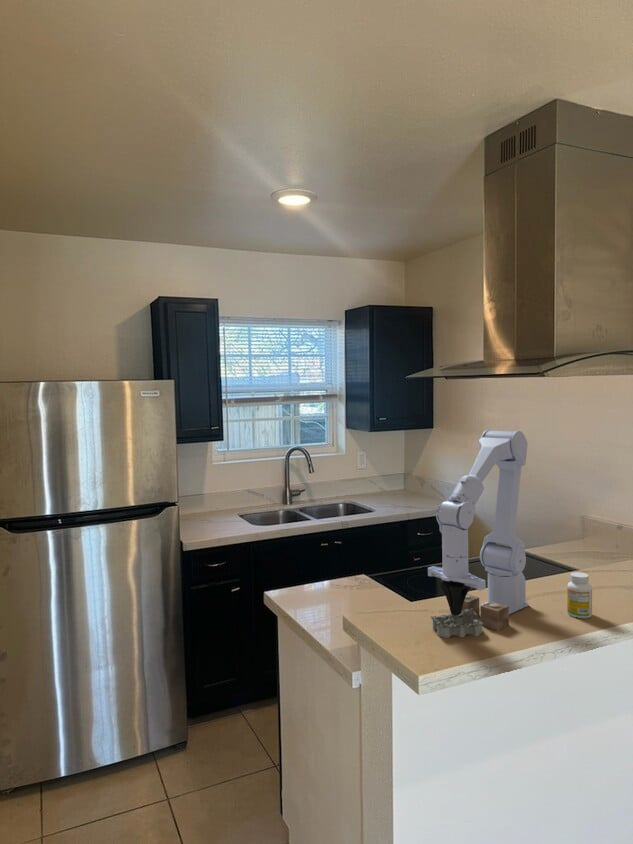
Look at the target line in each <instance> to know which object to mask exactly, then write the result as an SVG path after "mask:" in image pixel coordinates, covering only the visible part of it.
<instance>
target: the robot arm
mask: <svg viewBox="0 0 633 844" xmlns="http://www.w3.org/2000/svg"><path fill="white" fill-rule="evenodd" d="M479 438H480V439H479V441H478V449H479V452H478V454H477V455H476V457H475V460H474V463H473V465H472V467H471V469H470V471H469V473H468V475H463V476H461V477H460V479H459V481H458V482H457V484H456V486H455V488H454V489H453V491H452V493H451V495H449V497H448V500H444V501H443V502H441V503H440V504H439V506H438V508H437V510H436V511H437V512H436V514H435V518H436V522H437V523H438V526H439V532H440V534H441V542H442V543H441V549H442V551H441V552H442V555H441V556H442V557H441V558H442V560H441V561H442V567H440V566H434V565H431V566H429V567H427V576H428V577H435V578H438V579H441V581H442V582H440V585H439V587H440V589H441V590H442V591H443V594H444V596H445V598H446V601H447V604H448V607H449V611H450V614H452V615H455V616H456V615H459V614H461V611H462V607H463V603H464V600H465V597H466V595H467V594H469V591H470V589H471V588H472V589H473V588H474V589H476V591H484V590H486V579H483V578H480V577H479V576H476V575H474V574H471V572H469V569H470V568H469V528H470V527H471V525H472V524H473V522H474V516H475V511H476V505H477V503H478V501H479V499H480V498H481V496H482V494H483V492H484V489H485V486H484V484H483V482H484V480H485V479H486V478H487V477H488V474H490V472H491V471H492V470H493V468H494V466H495V465H497V467H498V469H499V472H498V474H499V475H498V481H497V482H498V483H497V494H496V501H495V502H496V503H495V504H496V505H495V512H494V513H495V514H494V523H493V531H491V532H490V533H489V534H487V535H486V536H484V538H483V542H482V547H481V549H480V550H479V560H480V563H481V565H482V566H483V567H484V570H485V571H486V572H487V601H486V602H483V603H481V604H480V606H482V605H484V604H487V603H489V602H491V601H492V602H496V603H499V604H503V605H506V606H509V615H510V614H511V615H512V614H513V613H515V612H517V611H520V610H521V609H524V608H526V607H529V606H530V603H528V602H526V601H527V600H526V599H527V597H526V596H527V595H526V593H527V588H526V587H527V586H526V585H527V584H526V577H525V576H524V573H523V571H524V570H525V567H526V564H527V557H526V548H525V547H526V544H525V542H524V541H522V539H521V538H520V537H519V536H517V534H516V526H517V517H518V508H519V507H518V506H519V495H520V486H521V477H522V476H521V475H522V467H523V466H525V465H526V463H527V462H526V461H527V454H528V440H527V438H526V435H525V434H524V433H523V431H520V430H516V431H515V430H514V431H512V430H510V431H509V430H490V429H486V430H484V431H483V432H482V434H481V436H480V437H479Z"/></svg>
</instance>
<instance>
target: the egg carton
mask: <svg viewBox="0 0 633 844" xmlns="http://www.w3.org/2000/svg"><path fill="white" fill-rule="evenodd" d="M430 619H431V620H432V630H433V631H436V635H437V636H438V637H443V638H444V639H449V638H451V636H458V637H460V638H465V636H466V635H472V636H474V637H478V636H480V634H482V633H483V625H484V624H483V622H481V618H479V616H477V614H476V613H475V612H474V610H473V608H472V609H469V608H468V609H463V610H462V611H461V614H459V615H456V616H455V615H452V614H451V613H450V614H442V615H439V616H436V615H435V616H434V615H433V616H432V615H431V616H430Z"/></svg>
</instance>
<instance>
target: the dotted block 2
mask: <svg viewBox="0 0 633 844" xmlns="http://www.w3.org/2000/svg"><path fill="white" fill-rule="evenodd" d="M479 610H480V620H481V622H483V624H484V625H482V627H486V628H489V629H492V630H495V631H500V630H502V629H504V628H506V627H508V626H510V619H509V617H510V614H509V606H506V605H503V604H499V603H496V602H492V601H491V602H489V603H487V604H484V605H482V606H481V605H479Z"/></svg>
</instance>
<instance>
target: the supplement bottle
mask: <svg viewBox="0 0 633 844" xmlns="http://www.w3.org/2000/svg"><path fill="white" fill-rule="evenodd" d="M589 577H590V576H589V574H587V573H585V572H579V571H578V572H577V571H576V572H575V571H574V572H571V573H570V581H569V582H568V583H567V587H566V588H567V589H566V590H567V594H566V595H567V599H566V600H567V605H566V606H567V609H566V610H567V614H568V615H569V616H570V617H573V618H576V617H577V619H589V618H591V617H592V616H593V587H592V585H591V584H590V583H589V581H590V578H589Z"/></svg>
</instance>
